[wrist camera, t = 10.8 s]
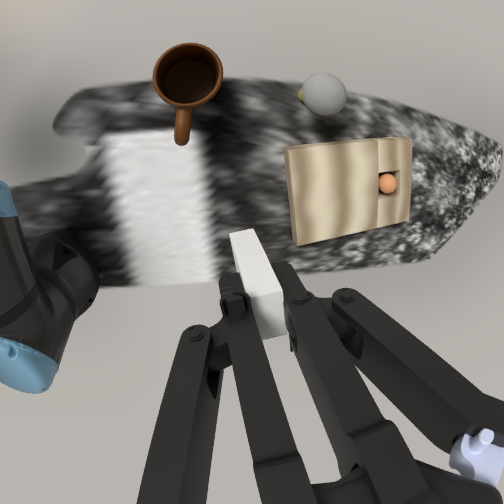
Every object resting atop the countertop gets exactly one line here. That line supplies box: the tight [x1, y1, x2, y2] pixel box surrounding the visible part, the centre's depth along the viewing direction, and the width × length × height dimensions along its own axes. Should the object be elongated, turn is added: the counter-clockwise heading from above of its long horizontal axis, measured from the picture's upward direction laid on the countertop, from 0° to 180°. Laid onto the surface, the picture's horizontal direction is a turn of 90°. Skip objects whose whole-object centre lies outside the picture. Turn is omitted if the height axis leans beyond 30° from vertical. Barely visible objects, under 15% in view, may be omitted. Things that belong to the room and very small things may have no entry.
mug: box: [153, 43, 223, 146], centre depth 30 cm, size 12×8×9 cm, turn 173°
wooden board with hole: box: [283, 137, 412, 246], centre depth 43 cm, size 22×15×2 cm
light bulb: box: [298, 73, 347, 115], centre depth 32 cm, size 6×6×10 cm
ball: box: [379, 173, 397, 194], centre depth 43 cm, size 3×3×3 cm
